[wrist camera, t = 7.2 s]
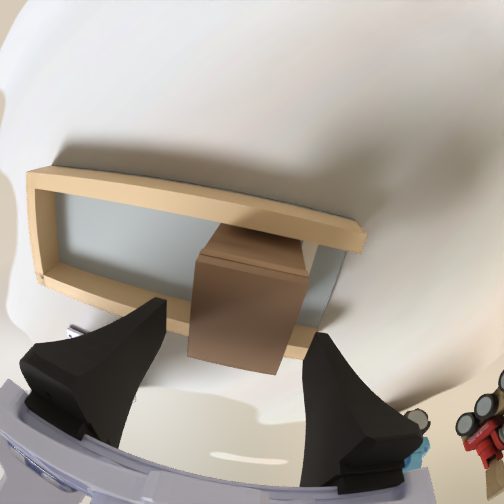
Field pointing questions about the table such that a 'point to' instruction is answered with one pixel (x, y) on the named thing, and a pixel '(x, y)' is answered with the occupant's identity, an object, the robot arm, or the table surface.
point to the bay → (165, 241)
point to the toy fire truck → (487, 436)
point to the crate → (246, 298)
